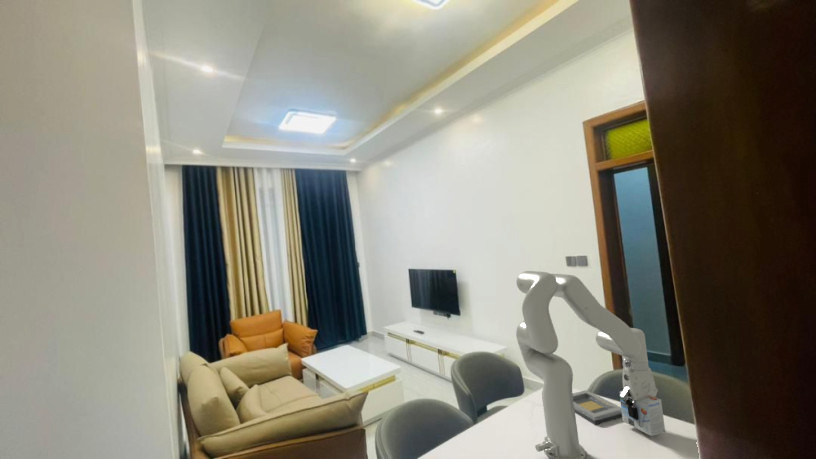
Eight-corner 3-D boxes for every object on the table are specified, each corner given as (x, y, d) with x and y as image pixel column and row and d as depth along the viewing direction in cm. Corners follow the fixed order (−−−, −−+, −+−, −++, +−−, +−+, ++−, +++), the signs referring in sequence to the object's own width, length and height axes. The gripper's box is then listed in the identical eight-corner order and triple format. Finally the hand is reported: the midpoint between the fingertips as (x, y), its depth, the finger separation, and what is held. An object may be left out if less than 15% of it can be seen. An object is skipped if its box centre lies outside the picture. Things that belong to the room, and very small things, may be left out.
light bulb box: (622, 421, 114) (618, 391, 115) (635, 417, 116) (631, 387, 117) (652, 436, 104) (647, 403, 105) (666, 432, 106) (662, 399, 107)
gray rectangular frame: (595, 425, 117) (594, 417, 117) (560, 403, 134) (559, 396, 135) (624, 416, 121) (623, 408, 121) (587, 396, 138) (586, 390, 138)
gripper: (626, 371, 106) (632, 426, 105) (664, 363, 111) (671, 415, 109) (607, 364, 114) (613, 415, 112) (643, 357, 118) (650, 406, 117)
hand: (641, 415), depth 111 cm, fingers closed on light bulb box, 6 cm apart
